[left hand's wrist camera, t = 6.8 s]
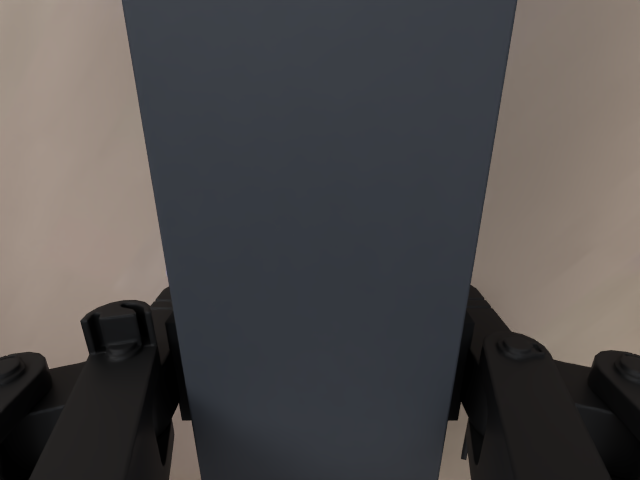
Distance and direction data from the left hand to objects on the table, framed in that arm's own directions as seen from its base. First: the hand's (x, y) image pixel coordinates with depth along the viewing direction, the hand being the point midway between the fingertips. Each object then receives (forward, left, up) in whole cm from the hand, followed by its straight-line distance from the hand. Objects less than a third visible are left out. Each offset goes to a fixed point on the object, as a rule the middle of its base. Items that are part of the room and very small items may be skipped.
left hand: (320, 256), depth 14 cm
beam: (+16, +12, -1) cm, 20 cm away
